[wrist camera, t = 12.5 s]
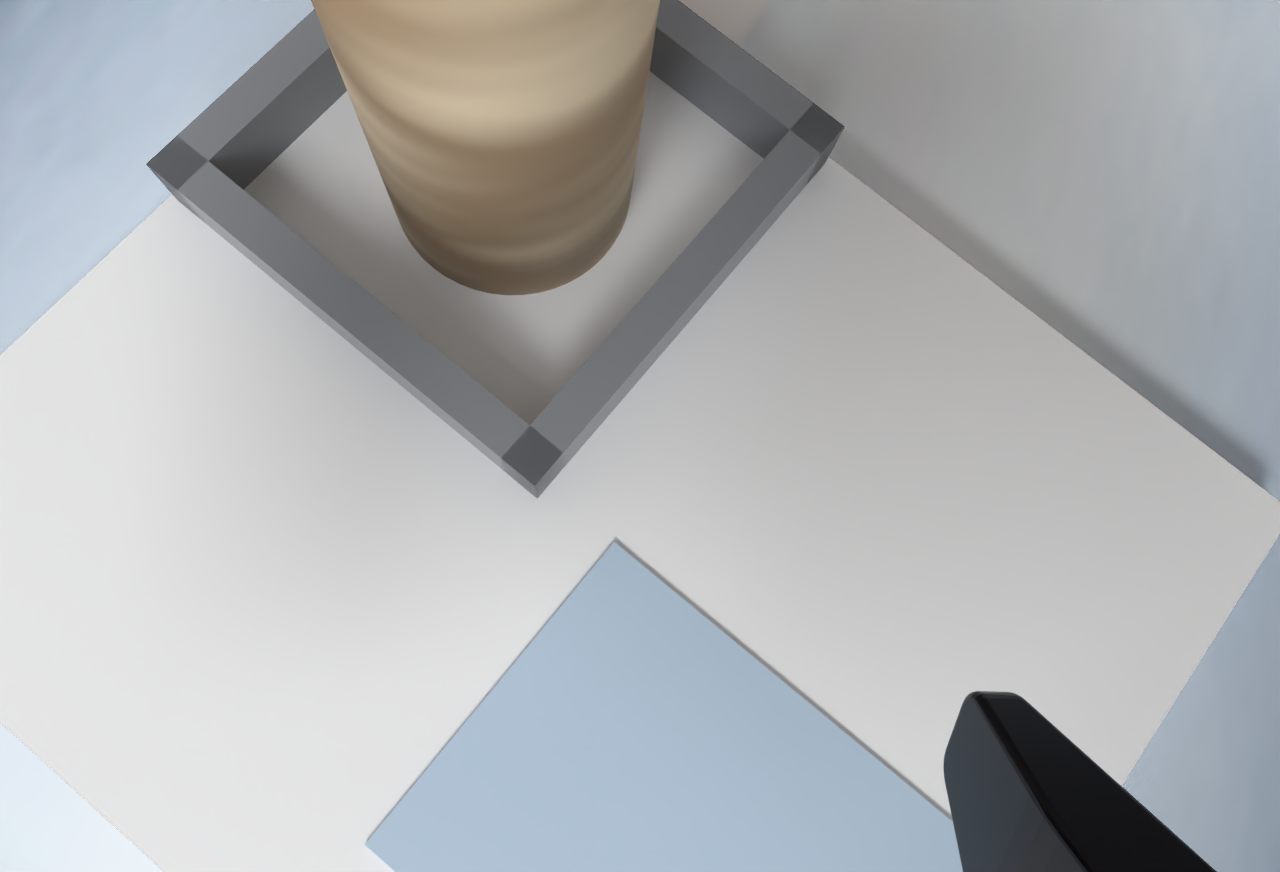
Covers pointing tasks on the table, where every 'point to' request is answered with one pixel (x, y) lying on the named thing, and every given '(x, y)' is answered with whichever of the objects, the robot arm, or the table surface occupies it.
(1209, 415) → the table surface
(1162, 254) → the table surface
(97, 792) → the base plate
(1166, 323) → the table surface
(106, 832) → the table surface
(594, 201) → the maple post
